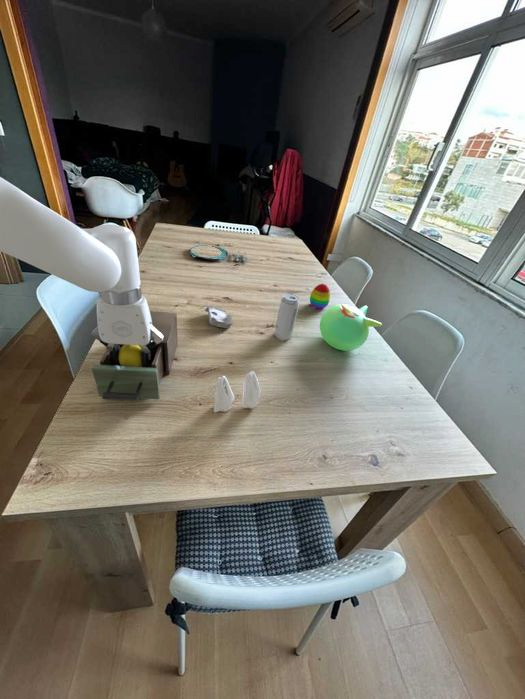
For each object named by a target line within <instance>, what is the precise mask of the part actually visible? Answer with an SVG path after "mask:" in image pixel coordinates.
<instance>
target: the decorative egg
mask: <svg viewBox="0 0 525 699" xmlns="http://www.w3.org/2000/svg"><path fill="white" fill-rule="evenodd" d="M330 300H331V291H330V288H329V286H328V285H327V284H325V283H319V284H318V285H316V286H315V287H314V288H313V289H312V291H311V293H310V296H309V302H310V305H311V307H312V308H314V309H316V310H323V309H325V308H326V307H327V306H328V305H329V303H330Z"/></svg>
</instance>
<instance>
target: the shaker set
mask: <svg viewBox="0 0 525 699" xmlns="http://www.w3.org/2000/svg"><path fill="white" fill-rule="evenodd" d="M214 393H215V394H214V404H213V412H214V413H217V412H227V411H230V410H231V409H232V408H233V406H234V405H233V402H234V401H235V400H236V398H235V395H234V393H233V391H232V388H231V386H230V384H229V380H228V379H227V377H226V376H225V375H222V376H221V377H220V376H218V377H217V379H216V382H215V387H214ZM261 396H262V392H261V389H260V384H259V380H258V377H257V375H256V373H255V371H254V370H251V371H250V372H247V373H246V375H245V377H244V379H243V384H242V398H241V405H240V406H241V408H242V409H245V408H247V409H254V408H256V407H257V406H258V405H259V403H261V402H260V397H261Z"/></svg>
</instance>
